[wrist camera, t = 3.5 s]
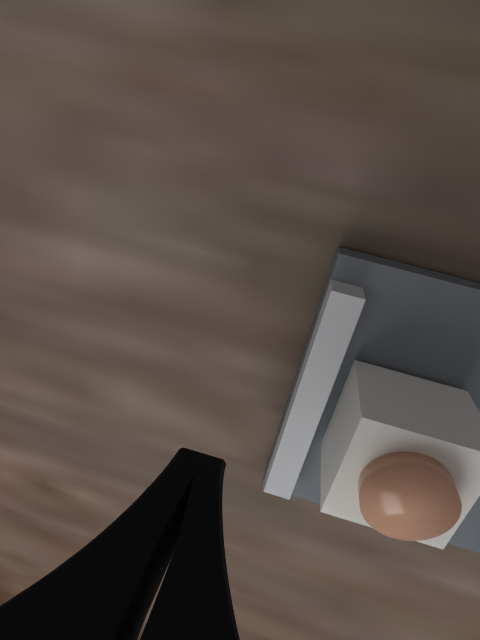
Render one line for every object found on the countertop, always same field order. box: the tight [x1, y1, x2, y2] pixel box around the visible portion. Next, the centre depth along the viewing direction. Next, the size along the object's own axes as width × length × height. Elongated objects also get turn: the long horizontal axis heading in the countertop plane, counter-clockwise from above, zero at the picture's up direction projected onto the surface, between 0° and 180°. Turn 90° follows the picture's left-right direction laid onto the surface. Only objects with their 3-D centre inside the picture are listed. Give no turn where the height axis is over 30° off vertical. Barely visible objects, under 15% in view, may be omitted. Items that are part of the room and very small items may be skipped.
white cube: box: [320, 360, 480, 549], centre depth 15 cm, size 4×4×4 cm
